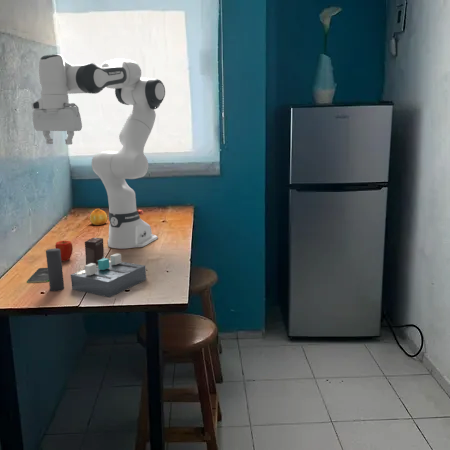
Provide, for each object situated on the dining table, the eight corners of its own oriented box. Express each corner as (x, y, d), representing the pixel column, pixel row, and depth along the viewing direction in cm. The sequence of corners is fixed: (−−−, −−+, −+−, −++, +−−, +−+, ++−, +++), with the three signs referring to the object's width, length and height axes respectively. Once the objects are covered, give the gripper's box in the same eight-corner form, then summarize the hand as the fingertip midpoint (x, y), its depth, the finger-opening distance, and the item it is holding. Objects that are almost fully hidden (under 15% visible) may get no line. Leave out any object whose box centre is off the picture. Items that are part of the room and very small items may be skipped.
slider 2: (116, 261, 183) (116, 253, 182) (121, 262, 182) (120, 254, 181) (111, 264, 180) (110, 255, 180) (115, 264, 179) (114, 256, 179)
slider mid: (104, 266, 178) (104, 258, 177) (109, 267, 177) (108, 258, 176) (98, 269, 175) (97, 260, 175) (103, 270, 174) (102, 261, 174)
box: (98, 275, 186) (95, 242, 183) (86, 274, 187) (83, 241, 184) (106, 270, 191) (103, 237, 188) (94, 269, 192) (92, 237, 190)
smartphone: (25, 281, 180) (38, 267, 194) (25, 284, 180) (38, 270, 195) (48, 280, 180) (59, 266, 195) (48, 283, 180) (59, 269, 195)
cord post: (57, 285, 177) (53, 247, 174) (67, 287, 174) (63, 249, 171) (47, 289, 173) (42, 251, 170) (56, 292, 171) (52, 252, 168)
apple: (77, 258, 206) (75, 239, 204) (65, 263, 201) (63, 243, 199) (65, 256, 209) (63, 238, 208) (53, 260, 204) (51, 242, 202)
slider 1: (92, 271, 173) (91, 263, 172) (96, 272, 172) (96, 263, 171) (85, 274, 170) (84, 265, 169) (90, 275, 169) (89, 266, 168)
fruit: (96, 222, 255) (100, 207, 258) (84, 222, 260) (88, 207, 262) (108, 228, 262) (112, 212, 264) (96, 227, 266) (100, 212, 268)
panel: (110, 273, 188) (108, 259, 186) (146, 279, 180) (145, 264, 179) (72, 289, 173) (70, 274, 171) (109, 297, 165) (108, 281, 164)
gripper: (84, 102, 181) (87, 144, 184) (42, 103, 191) (46, 143, 194) (70, 103, 175) (74, 145, 179) (28, 104, 185) (32, 144, 189)
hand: (59, 144), depth 186 cm, fingers open, 8 cm apart
